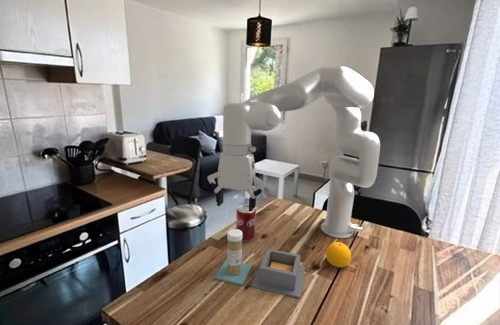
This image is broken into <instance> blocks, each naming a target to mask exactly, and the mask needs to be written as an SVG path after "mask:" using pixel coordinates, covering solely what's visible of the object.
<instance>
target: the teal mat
mask: <svg viewBox="0 0 500 325" xmlns="http://www.w3.org/2000/svg"><path fill="white" fill-rule="evenodd" d="M227 265H228V262H227V259H225V260H224V261H223V263H222V264H221V267H220V268H219V269H218V271H217V272H216V273H215V275H214V279H215V280H219V281H223V282H227V283H229V284H230V283H231V284H234V285H239V286H244V284H245V282H246V280H247V278H248V276H249V274H250V271H251V270H252V268H253V266H252V265H251V264H247V263H242V262H241V272H240V273H239V274H237V275H231V274H229V273H228V272H227Z"/></svg>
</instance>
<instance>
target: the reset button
mask: <svg viewBox="0 0 500 325" xmlns="http://www.w3.org/2000/svg"><path fill="white" fill-rule="evenodd" d="M270 268H275V269H279V270H284V271H288V272H292V271H293V266H291V265H286V264H282V263H277V262H271V265H270Z"/></svg>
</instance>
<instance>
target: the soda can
mask: <svg viewBox="0 0 500 325" xmlns="http://www.w3.org/2000/svg"><path fill="white" fill-rule="evenodd" d="M256 216H257V210H256V207H255V208H253V210H252V211H249V204H248V205H247V204H246V205H244V204H243V205H239V206H238V207H237V208H236V219H235V220H236V222H235V224H236V225H235V227H236V228H235V229H238V230H241V231H242V242H244V243H245V242H251V241H252V240H254V239H255V237H256V220H257V217H256Z"/></svg>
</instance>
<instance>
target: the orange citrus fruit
mask: <svg viewBox="0 0 500 325" xmlns="http://www.w3.org/2000/svg"><path fill="white" fill-rule="evenodd" d="M325 256H326V257H325V258H326V260H327V262H328V263H329V264H330V265H331V266H333V267H335V268H345V267H347V266H348V265H349V264H350V262H351V260H352V253H351V250H350V248H349V247H348V246H347V245H346V244H345V243H343V242H339V241H335V242H332V243H331V244H329V245H328V246H327V247H326V250H325Z"/></svg>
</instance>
